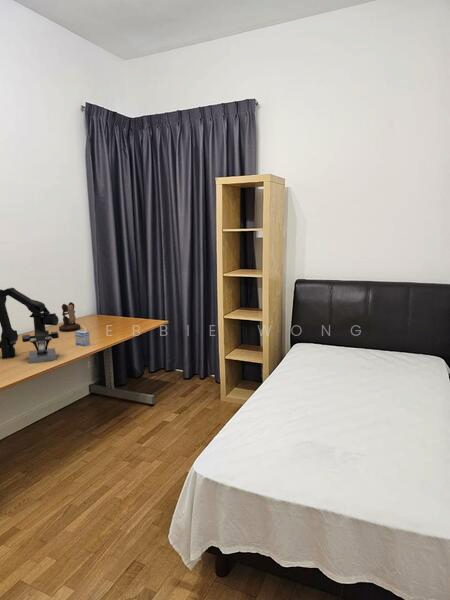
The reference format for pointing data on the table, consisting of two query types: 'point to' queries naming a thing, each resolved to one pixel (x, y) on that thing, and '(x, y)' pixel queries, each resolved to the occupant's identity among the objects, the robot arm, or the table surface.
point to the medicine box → (82, 338)
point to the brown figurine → (69, 322)
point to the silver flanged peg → (41, 347)
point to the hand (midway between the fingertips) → (41, 351)
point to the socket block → (42, 356)
